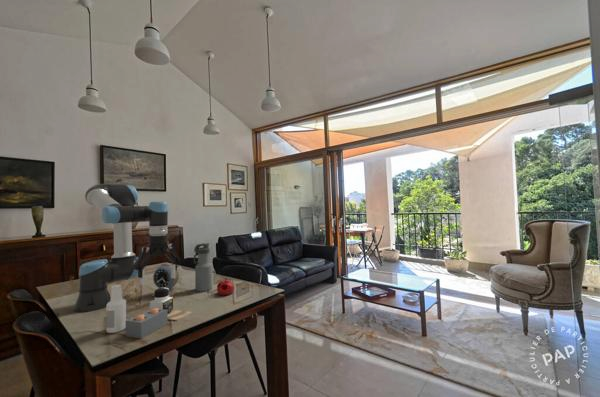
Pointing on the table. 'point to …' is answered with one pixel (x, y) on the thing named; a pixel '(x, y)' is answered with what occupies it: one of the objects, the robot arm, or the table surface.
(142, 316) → the plunger
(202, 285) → the water bottle
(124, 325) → the spray bottle
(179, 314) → the cork pad
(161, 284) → the alarm clock
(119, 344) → the table surface
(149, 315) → the grey plunger block
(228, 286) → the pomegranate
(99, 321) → the table surface
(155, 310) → the plunger
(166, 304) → the medicine bottle
